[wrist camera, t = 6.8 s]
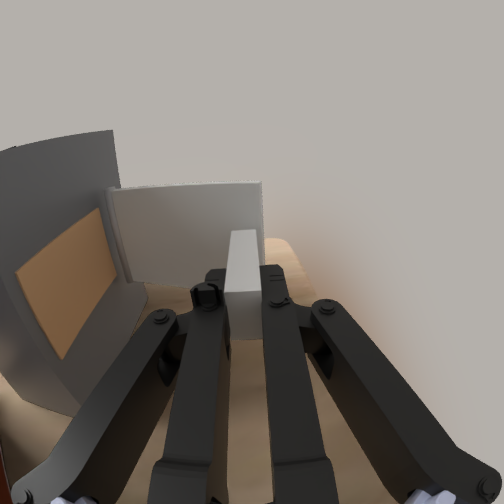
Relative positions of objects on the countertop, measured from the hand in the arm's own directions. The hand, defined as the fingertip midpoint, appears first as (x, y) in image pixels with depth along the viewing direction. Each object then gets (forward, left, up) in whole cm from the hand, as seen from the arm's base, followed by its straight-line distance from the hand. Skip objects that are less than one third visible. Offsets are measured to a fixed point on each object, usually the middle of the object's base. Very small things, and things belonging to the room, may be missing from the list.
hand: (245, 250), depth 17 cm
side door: (-5, 0, -4) cm, 7 cm away
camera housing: (-14, -7, -9) cm, 18 cm away
